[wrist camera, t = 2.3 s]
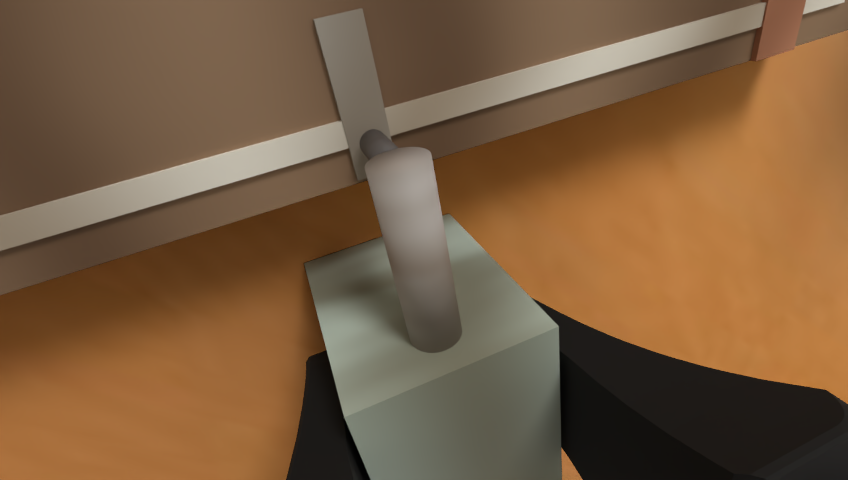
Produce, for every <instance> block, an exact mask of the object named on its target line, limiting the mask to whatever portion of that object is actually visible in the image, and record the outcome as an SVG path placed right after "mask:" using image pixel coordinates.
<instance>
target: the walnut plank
mask: <svg viewBox="0 0 848 480" xmlns="http://www.w3.org/2000/svg"><path fill="white" fill-rule="evenodd" d="M846 30H848V0H0V295H3V294H6V293H9V292H12V291H16V290H19V289H22V288H25V287H28V286H32V285H35V284H38V283H41V282H44V281H48V280H51V279H54V278H57V277H60V276H63V275H67V274H70V273H73V272H76V271H79V270H83V269H86V268H89V267H92V266H95V265H99V264H102V263H105V262H108V261H111V260H115V259H118V258H121V257H124V256H127V255H131V254H134V253H137V252H140V251H143V250H147V249H150V248H153V247H156V246H159V245H162V244H166V243H169V242H172V241H175V240H178V239H182V238H185V237H188V236H191V235H194V234H198V233H201V232H204V231H207V230H210V229H214V228H217V227H220V226H223V225H226V224H230V223H233V222H236V221H239V220H242V219H246V218H249V217H252V216H255V215H258V214H262V213H265V212H268V211H271V210H274V209H277V208H281V207H284V206H287V205H290V204H293V203H297V202H300V201H303V200H306V199H309V198H313V197H316V196H319V195H322V194H325V193H329V192H332V191H335V190H338V189H341V188H345V187H348V186H351V185H354V184H357V183H361V182H364V181H367V180H368V179H367V175H366V171H365V164H366V163H367V162H368V161H369V160H368V158H367V157H366V156H365V155H364V153H363V152H362V151H361V149H360V139H361V136H362V135H363V134H364V133H365V132H366V131H368V130H371V129H376V130H379V131H381V132H382V133H384V134H385V135H386V136H387V137H388V138H389V139H390V140H391V141H392V142H393V143H394V144H395V145H396V146H397V147H398V148H403V147H420V148H425V149H427V150H429V151H430V152H431V155H432V160H434V159H437V158H440V157H444V156H447V155H450V154H453V153H456V152H460V151H463V150H466V149H469V148H472V147H476V146H479V145H482V144H485V143H488V142H491V141H495V140H498V139H501V138H504V137H507V136H511V135H514V134H517V133H520V132H523V131H527V130H530V129H533V128H536V127H539V126H543V125H546V124H549V123H552V122H555V121H559V120H562V119H565V118H568V117H571V116H575V115H578V114H581V113H584V112H587V111H591V110H594V109H597V108H600V107H603V106H606V105H610V104H613V103H616V102H619V101H622V100H626V99H629V98H632V97H635V96H638V95H642V94H645V93H648V92H651V91H654V90H658V89H661V88H664V87H667V86H670V85H674V84H677V83H680V82H683V81H686V80H690V79H693V78H696V77H699V76H702V75H706V74H709V73H712V72H715V71H718V70H721V69H725V68H728V67H731V66H734V65H737V64H741V63H744V62H747V61H750V60H751V61H758V60H761V59H765V58H768V57H771V56H774V55H777V54H780V53H784V52H787V51H790V50H793V49H794V48H795V46H798V45H801V44H805V43H808V42H811V41H814V40H817V39H821V38H824V37H827V36H830V35H833V34H836V33H840V32H843V31H846Z"/></svg>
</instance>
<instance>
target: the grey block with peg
mask: <svg viewBox="0 0 848 480" xmlns="http://www.w3.org/2000/svg"><path fill="white" fill-rule="evenodd" d="M360 149H361V151H362V152H363V153H364V155H365V156H366V157H367V158H368V160H369V161H368V162H367V163H366V164H365V171H366V175H367V179H368V183H369V187H370V190H371V194H372V198H373V202H374V206H375V209H376V213H377V217H378V221H379V225H380V228H381V232H382V237H379V238H376V239H373V240H370V241H368V242H365V243H362V244H359V245H356V246H353V247H350V248H347V249H344V250H341V251H338V252H335V253H333V254H330V255H327V256H324V257H321V258H318V259H315V260H312V261H309V262H306V263H304V265H305V269H306V273H307V277H308V281H309V284H310V288H311V292H312V296H313V300H314V304H315V307H316V311H317V315H318V319H319V323H320V327H321V330H322V334H323V338H324V342H325V346H326V350H327V353H328V357H329V361H330V365H331V369H332V373H333V377H334V380H335V384H336V388H337V392H338V396H339V400H340V403H341V407H342V411H343V415H344V418H345V421H346V423H347V425H348V428H349V430H350V432H351V435H352V437H353V439H354V442H355V444H356V446H357V449H358V451H359V454H360V456H361V458H362V461H363V463H364V465H365V468H366V470H367V472H368V475H369V477H370V479H371V480H562V461H561V411H560V361H559V326H558V325H557V324H556V323H555V322H554V321H553V320H552V319H551V318H550V317H549V316H548V315H547V314H546V313H545V312H544V311H543V310H542V309H541V308H540V306H539V305H538V304H537V303H536V302H535V301H534V300H533V299H532V298H531V297H530V296H529V295H528V294H527V293H526V292H525V291H524V290H523V289H522V288H521V287H520V286H519V285H518V284H517V283H516V282H515V281H514V280H513V279H512V278H511V277H510V276H509V275H508V274H507V273H506V272H505V270H504V269H503V268H502V267H501V266H500V265H499V264H498V263H497V262H496V261H495V260H494V259H493V258H492V257H491V256H490V255H489V254H488V253H487V252H486V251H485V250H484V249H483V248H482V247H481V246H480V245H479V244H478V243H477V242H476V241H475V240H474V239H473V238H472V237H471V235H470V234H469V233H468V232H467V231H466V230H465V229H464V228H463V227H462V226H461V225H460V224H459V223H458V222H457V221H456V220H455V219H454V218H453V217H452V216H451V215H450V214H446V215H443V216H442V212H441V206H440V200H439V195H438V189H437V183H436V177H435V172H434V166H433V160H432V155H431V152H430V151H429V150H427V149H425V148H420V147H403V148H398V147H397V146H396V145H395V144H394V143H393V142H392V141H391V140H390V139H389V138H388V137H387V136H386V135H385V134H384V133H382V132H381V131H379V130H376V129H371V130H368V131H366V132H365V133H364V134H363V135H362V136H361V139H360Z"/></svg>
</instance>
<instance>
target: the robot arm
mask: <svg viewBox="0 0 848 480" xmlns="http://www.w3.org/2000/svg"><path fill="white" fill-rule="evenodd" d="M532 299H533V298H532ZM533 300H534V301H535V302H536V303H537V304H538V305H539V306H540V308H541V309H542V310H543V311H544V312H545V313H546V314H547V315H548V316H549V317H550V318H551V319H552V320H553V321H554V322H555V323H556V324H557V325H558V326H559V361H560V411H561V447H562V449H563V450H564V451H565V453H566V454H567V456H568V457H569V459H570V460H571V462H572V463H573V465H574V466H575V468H576V470H577V471H578V473H579V474H580V476H581V477H582V479H583V480H848V404H846V403H845V402H843V401H842V400H840V399H839V398H837V397H836V396H834V395H833V394H831V393H830V392H828V391H826V390H823V389H817V388H811V387H804V386H798V385H792V384H786V383H780V382H774V381H768V380H762V379H757V378H753V377H748V376H743V375H739V374H734V373H729V372H725V371H721V370H716V369H712V368H708V367H704V366H700V365H697V364H693V363H690V362H686V361H683V360H679V359H676V358H672V357H669V356H666V355H662V354H659V353H656V352H653V351H650V350H647V349H645V348H642V347H639V346H636V345H633V344H630V343H628V342H625V341H622V340H620V339H617V338H615V337H612V336H610V335H607V334H605V333H603V332H600V331H598V330H596V329H593V328H591V327H589V326H587V325H584V324H582V323H580V322H578V321H576V320H574V319H572V318H570V317H568V316H566V315H564V314H562V313H560V312H558V311H556V310H554V309H552V308H550V307H548V306H546V305H544V304H542V303H540V302H538V301H537V300H535V299H533ZM286 480H371V479H370V477H369V475H368V472H367V470H366V468H365V465H364V463H363V461H362V458H361V456H360V454H359V451H358V449H357V446H356V444H355V442H354V439H353V437H352V435H351V432H350V430H349V428H348V425H347V423H346V421H345V418H344V415H343V411H342V407H341V403H340V400H339V396H338V392H337V388H336V384H335V380H334V377H333V373H332V369H331V365H330V361H329V357H328V353H327V350H326V351H323V352H321V353H318V354H315V355H313V356H310V357H309V358H308V360H307V362H306V381H305V391H304V398H303V405H302V411H301V417H300V422H299V428H298V433H297V438H296V442H295V446H294V450H293V454H292V459H291V463H290V467H289V471H288V475H287V478H286Z"/></svg>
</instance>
